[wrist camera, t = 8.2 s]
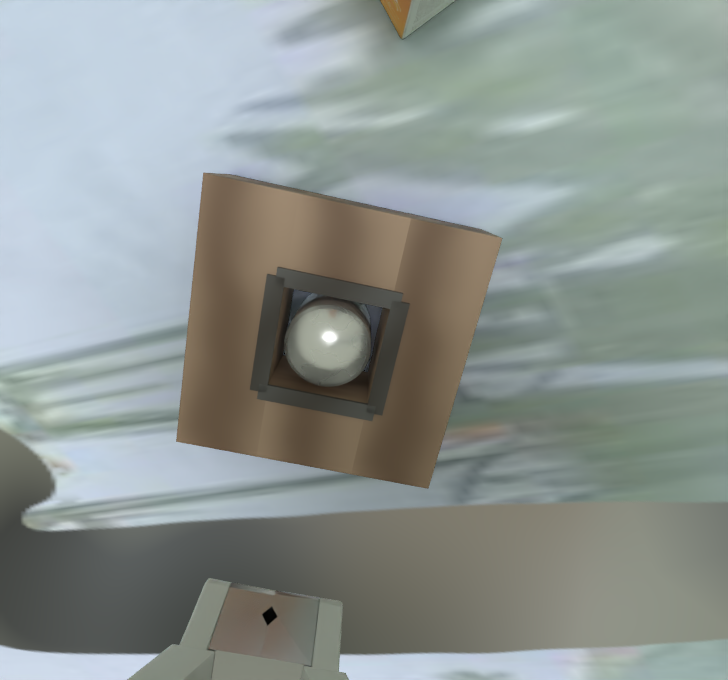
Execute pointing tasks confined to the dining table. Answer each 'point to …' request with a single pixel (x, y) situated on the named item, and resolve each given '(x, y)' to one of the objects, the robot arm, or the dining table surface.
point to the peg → (329, 340)
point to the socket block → (339, 280)
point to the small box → (412, 13)
